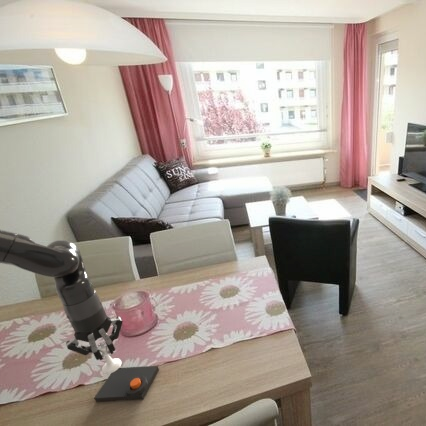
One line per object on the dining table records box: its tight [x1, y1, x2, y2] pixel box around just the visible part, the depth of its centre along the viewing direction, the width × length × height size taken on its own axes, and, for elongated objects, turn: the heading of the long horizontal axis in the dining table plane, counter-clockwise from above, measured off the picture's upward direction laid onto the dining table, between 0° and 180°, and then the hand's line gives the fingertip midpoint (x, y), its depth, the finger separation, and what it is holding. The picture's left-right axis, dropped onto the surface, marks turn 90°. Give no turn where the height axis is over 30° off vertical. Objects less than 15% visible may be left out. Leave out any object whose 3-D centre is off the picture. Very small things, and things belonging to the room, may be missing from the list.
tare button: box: [130, 378, 141, 389], centre depth 88 cm, size 3×3×2 cm
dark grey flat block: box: [94, 365, 160, 403], centre depth 91 cm, size 10×14×4 cm
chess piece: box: [97, 341, 123, 375], centre depth 86 cm, size 5×5×10 cm
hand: (106, 355), depth 86 cm, fingers closed on chess piece
